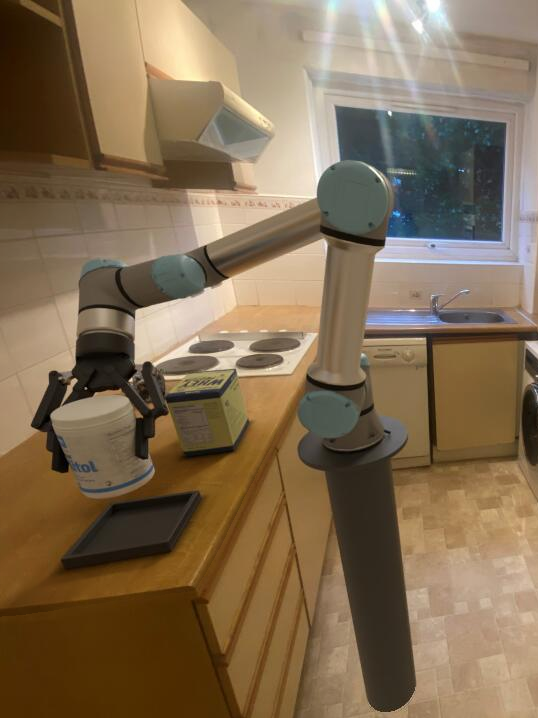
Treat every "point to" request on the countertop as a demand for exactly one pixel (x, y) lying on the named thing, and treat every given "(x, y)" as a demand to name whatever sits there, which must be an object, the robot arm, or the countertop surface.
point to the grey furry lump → (140, 385)
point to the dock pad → (133, 529)
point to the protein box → (208, 412)
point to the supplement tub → (102, 445)
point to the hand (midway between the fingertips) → (102, 464)
